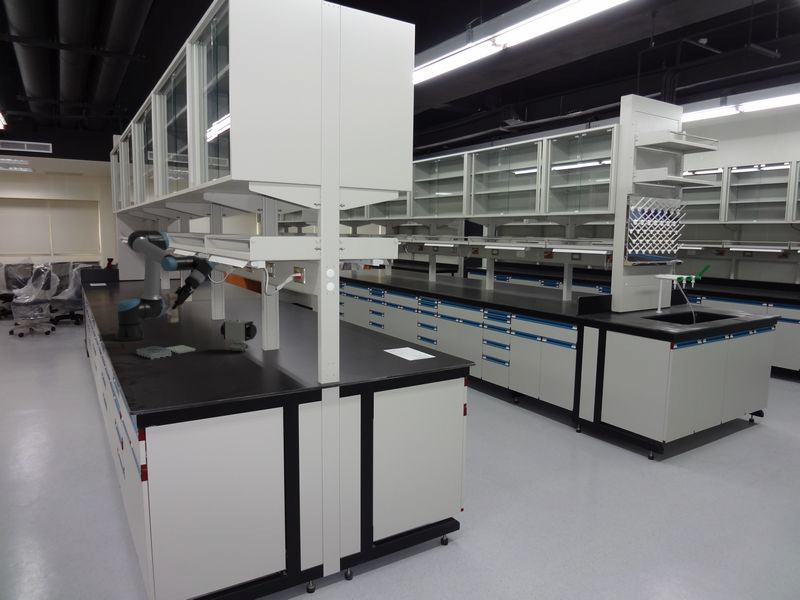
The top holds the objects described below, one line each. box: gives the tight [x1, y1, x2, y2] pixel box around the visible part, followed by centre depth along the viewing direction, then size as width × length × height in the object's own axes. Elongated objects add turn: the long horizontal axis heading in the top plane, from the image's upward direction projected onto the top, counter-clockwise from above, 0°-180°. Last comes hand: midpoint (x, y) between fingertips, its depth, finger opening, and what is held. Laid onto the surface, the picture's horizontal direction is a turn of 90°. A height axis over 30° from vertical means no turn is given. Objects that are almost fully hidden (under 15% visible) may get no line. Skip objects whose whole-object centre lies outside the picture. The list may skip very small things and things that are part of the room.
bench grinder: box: [219, 317, 258, 352], centre depth 277 cm, size 18×8×18 cm, turn 76°
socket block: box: [136, 345, 172, 360], centre depth 264 cm, size 16×10×3 cm, turn 50°
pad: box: [164, 344, 197, 354], centre depth 277 cm, size 14×10×1 cm
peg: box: [165, 293, 179, 324], centre depth 271 cm, size 4×4×15 cm
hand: (165, 313), depth 269 cm, fingers closed on peg, 4 cm apart
